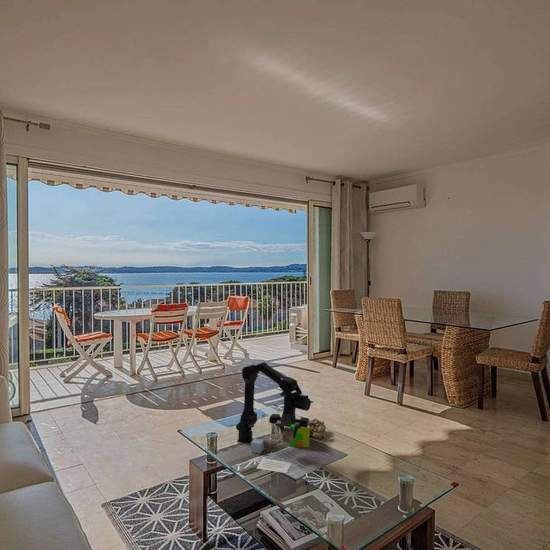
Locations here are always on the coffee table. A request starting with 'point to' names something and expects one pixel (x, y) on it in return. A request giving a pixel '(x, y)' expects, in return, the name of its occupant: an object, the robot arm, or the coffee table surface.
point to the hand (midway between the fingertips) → (288, 437)
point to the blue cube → (257, 446)
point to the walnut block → (288, 435)
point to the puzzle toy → (301, 437)
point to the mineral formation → (317, 428)
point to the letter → (274, 465)
